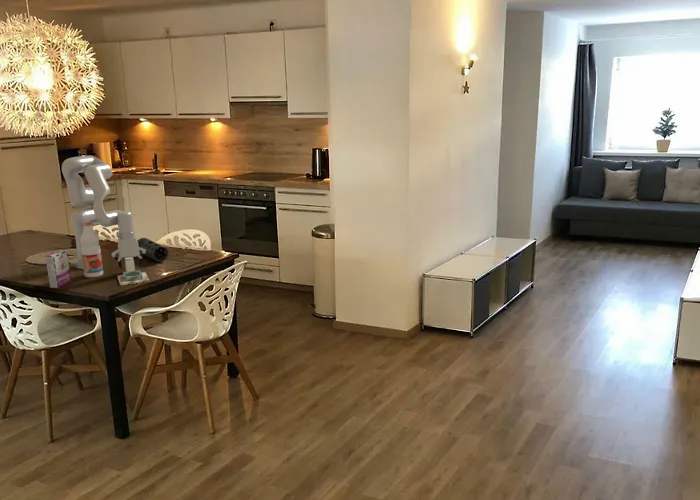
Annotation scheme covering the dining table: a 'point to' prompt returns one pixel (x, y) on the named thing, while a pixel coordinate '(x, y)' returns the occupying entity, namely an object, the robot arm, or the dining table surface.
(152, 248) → the muzzle brake
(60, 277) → the candy bar box
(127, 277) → the holder
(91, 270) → the fruit juice
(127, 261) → the block
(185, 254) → the dining table surface
